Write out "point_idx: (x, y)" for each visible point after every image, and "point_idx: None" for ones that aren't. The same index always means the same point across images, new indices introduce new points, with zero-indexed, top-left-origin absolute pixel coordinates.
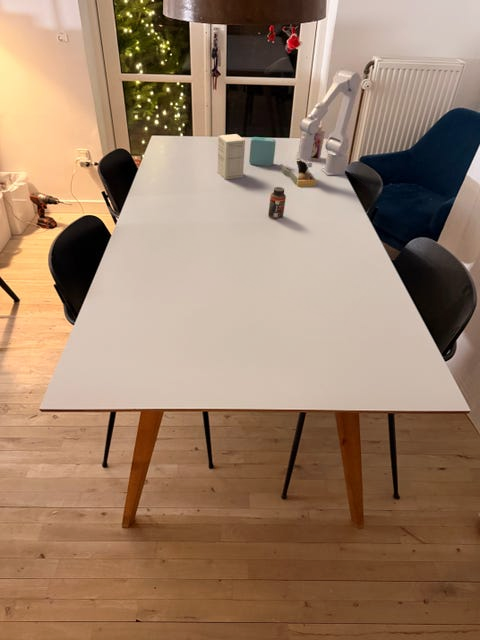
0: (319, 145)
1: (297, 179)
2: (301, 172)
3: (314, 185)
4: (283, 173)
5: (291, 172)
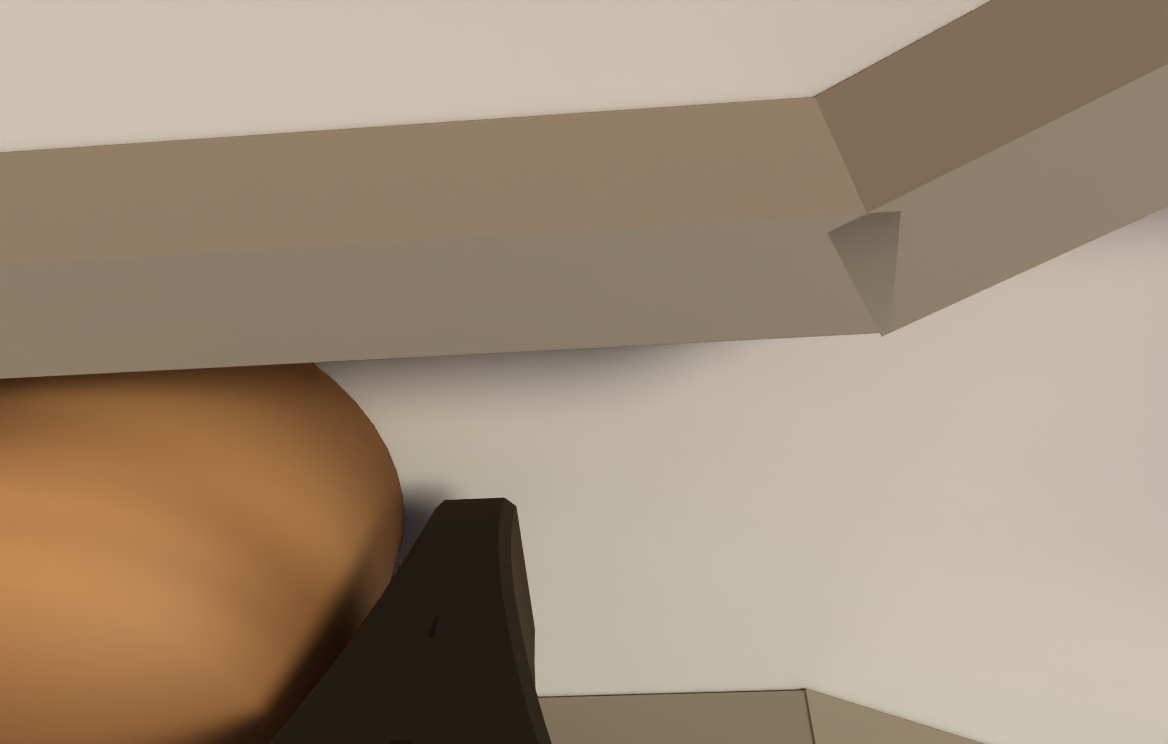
0: None
1: None
2: (257, 739)
3: None
4: None
5: (777, 277)
